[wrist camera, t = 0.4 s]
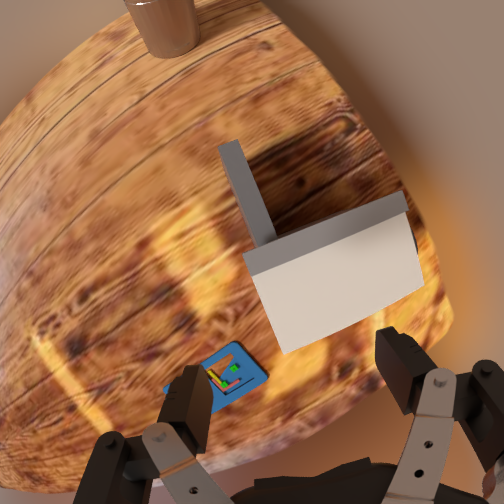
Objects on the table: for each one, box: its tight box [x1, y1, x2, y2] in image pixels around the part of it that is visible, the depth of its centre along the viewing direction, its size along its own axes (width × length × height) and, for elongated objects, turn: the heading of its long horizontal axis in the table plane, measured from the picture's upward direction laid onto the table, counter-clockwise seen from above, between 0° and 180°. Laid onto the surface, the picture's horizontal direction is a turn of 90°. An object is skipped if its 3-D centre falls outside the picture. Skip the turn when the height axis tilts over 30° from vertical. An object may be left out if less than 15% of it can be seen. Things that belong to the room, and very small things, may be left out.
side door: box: [218, 139, 356, 248], centre depth 30 cm, size 11×13×12 cm
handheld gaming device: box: [163, 341, 268, 414], centre depth 38 cm, size 8×1×15 cm
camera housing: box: [242, 190, 424, 355], centre depth 30 cm, size 10×18×15 cm, turn 112°
